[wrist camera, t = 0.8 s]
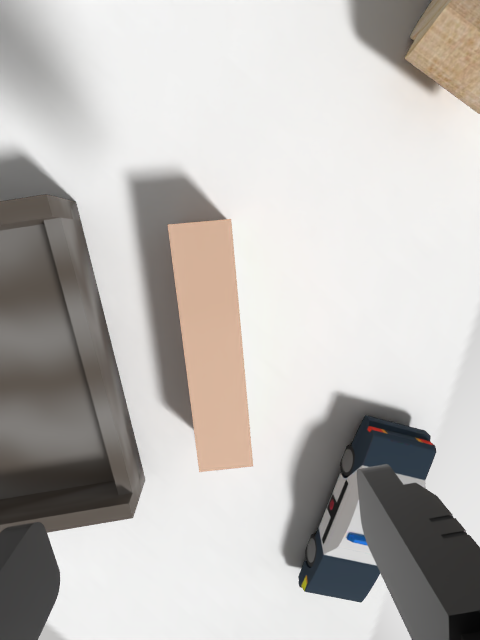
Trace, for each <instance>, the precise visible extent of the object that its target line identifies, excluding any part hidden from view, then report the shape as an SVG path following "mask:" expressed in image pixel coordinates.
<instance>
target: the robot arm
mask: <svg viewBox="0 0 480 640" xmlns="http://www.w3.org/2000/svg"><path fill="white" fill-rule="evenodd" d="M357 485H358V495H359V506H360V517H361V524H362V529H363V533H364V536H365V539H366V542H367V545H368V547H369V550H370V552H371V554H372V556H373V558H374V560H375V562H376V564H377V567H378V569H379V571H380V573H381V575H382V577H383V579H384V581H385V583H386V586H387V588H388V590H389V592H390V594H391V596H392V598H393V600H394V602H395V605H396V607H397V609H398V611H399V613H400V615H401V617H402V619H403V621H404V624H405V626H406V628H407V630H408V632H409V634H410V636H411V638H412V640H480V547H479V546H478V545H477V544H476V542H475V541H474V540H473V539H472V538H471V536H470V535H467V533H466V531H465V529H464V528H463V527H462V526H461V524H460V523H459V522H458V521H457V520H456V518H453V516H452V514H451V513H450V511H449V510H448V509H447V508H446V507H445V505H444V504H443V503H442V502H441V500H440V499H439V498H438V497H437V496H436V495H434V494H433V493H431V492H430V491H428V490H427V489H425V488H424V487H422V486H420V485H419V484H417V483H410V484H403V483H402V482H401V480H400V479H399V478H398V476H397V475H396V474H395V472H394V471H393V469H392V468H391V467H390V466H389V465H387V464H384V465H378V466H373V467H367V468H361V469H358V470H357ZM59 586H60V572H59V568H58V565H57V562H56V559H55V556H54V553H53V550H52V547H51V544H50V541H49V538H48V535H47V532H46V529H45V527H44V525H43V524H42V523H40V522H34V523H28V524H22V525H16V526H10V527H7V528H5V529H4V530H2V531H1V533H0V640H38V638H39V636H40V634H41V632H42V629H43V627H44V625H45V623H46V621H47V619H48V617H49V614H50V612H51V610H52V608H53V606H54V604H55V601H56V599H57V596H58V592H59Z"/></svg>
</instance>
